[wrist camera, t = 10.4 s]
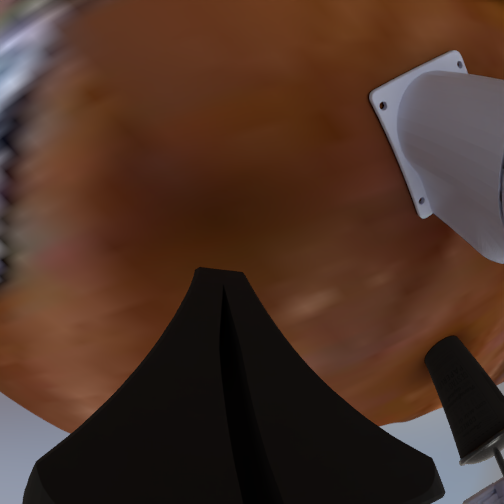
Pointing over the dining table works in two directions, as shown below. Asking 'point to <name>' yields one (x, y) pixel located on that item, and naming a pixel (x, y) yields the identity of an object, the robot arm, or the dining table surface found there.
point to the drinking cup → (468, 401)
